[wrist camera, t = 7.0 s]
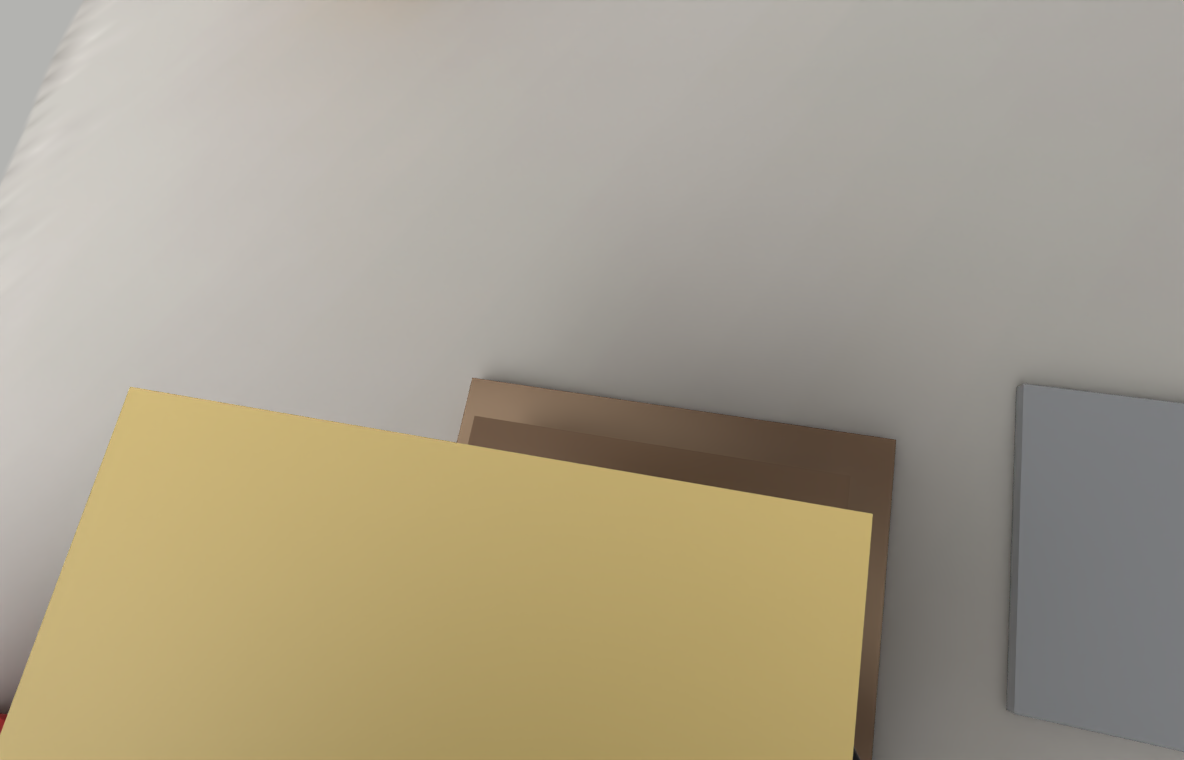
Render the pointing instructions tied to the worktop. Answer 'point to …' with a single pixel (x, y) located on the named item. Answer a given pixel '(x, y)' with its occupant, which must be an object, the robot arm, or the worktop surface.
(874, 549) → the socket
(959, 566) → the worktop surface
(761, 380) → the worktop surface
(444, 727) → the plug
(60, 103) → the worktop surface
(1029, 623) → the stand
